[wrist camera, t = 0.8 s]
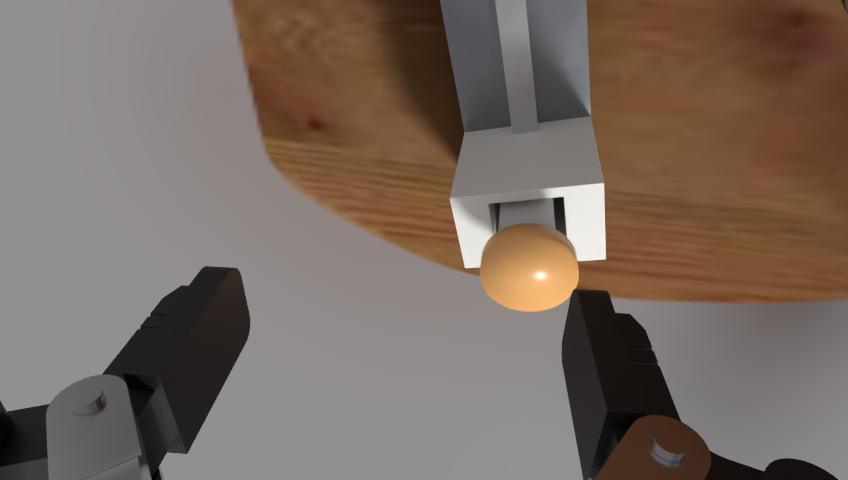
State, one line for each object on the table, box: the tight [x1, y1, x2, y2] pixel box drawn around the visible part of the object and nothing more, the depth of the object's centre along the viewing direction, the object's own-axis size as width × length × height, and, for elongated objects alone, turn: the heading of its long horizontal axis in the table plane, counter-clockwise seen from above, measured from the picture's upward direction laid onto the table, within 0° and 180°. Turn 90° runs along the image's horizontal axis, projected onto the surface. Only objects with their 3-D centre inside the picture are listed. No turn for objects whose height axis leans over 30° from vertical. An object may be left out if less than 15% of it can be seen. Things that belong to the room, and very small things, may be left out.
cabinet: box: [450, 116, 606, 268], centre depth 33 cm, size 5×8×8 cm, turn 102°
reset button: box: [480, 198, 579, 312], centre depth 29 cm, size 5×5×7 cm
